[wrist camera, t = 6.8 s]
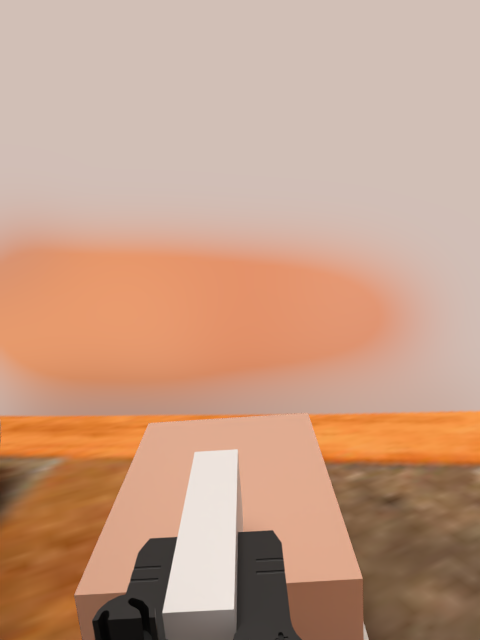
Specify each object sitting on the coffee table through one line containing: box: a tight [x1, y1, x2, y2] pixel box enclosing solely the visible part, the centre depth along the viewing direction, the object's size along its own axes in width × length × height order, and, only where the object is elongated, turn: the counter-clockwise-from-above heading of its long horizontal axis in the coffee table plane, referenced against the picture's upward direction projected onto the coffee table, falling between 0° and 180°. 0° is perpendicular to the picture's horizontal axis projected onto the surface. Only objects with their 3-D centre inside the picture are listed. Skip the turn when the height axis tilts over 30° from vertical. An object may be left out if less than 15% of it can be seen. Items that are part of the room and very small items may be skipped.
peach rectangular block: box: [74, 413, 364, 640], centre depth 21 cm, size 4×9×12 cm
